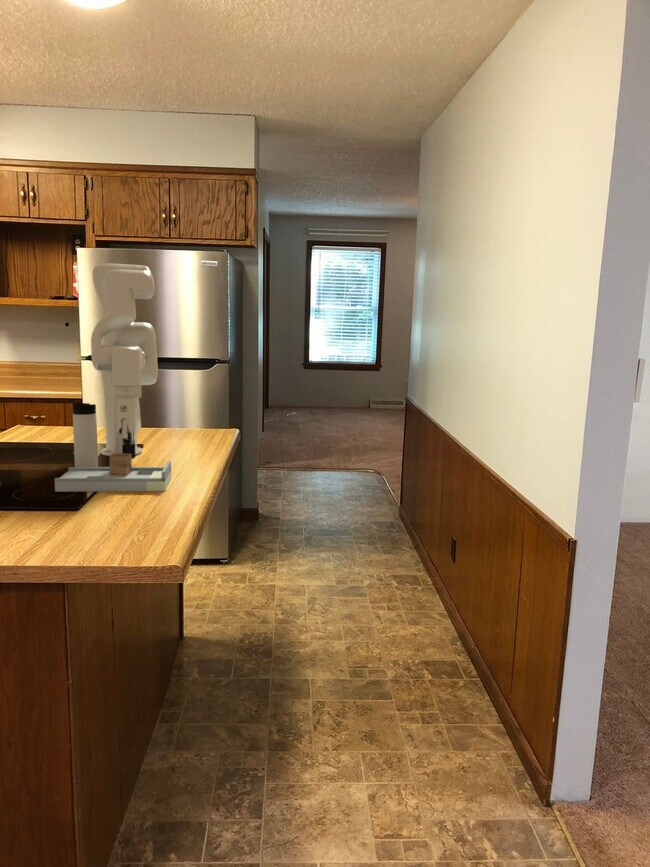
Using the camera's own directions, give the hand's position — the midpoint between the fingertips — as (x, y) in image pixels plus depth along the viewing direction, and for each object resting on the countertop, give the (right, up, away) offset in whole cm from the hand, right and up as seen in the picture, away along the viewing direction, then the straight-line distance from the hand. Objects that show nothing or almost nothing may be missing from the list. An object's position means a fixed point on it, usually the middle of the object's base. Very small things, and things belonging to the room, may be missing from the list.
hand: (129, 457), depth 177 cm
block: (0, -4, -7) cm, 8 cm away
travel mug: (-14, -4, +5) cm, 15 cm away
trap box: (-1, -7, -9) cm, 11 cm away
